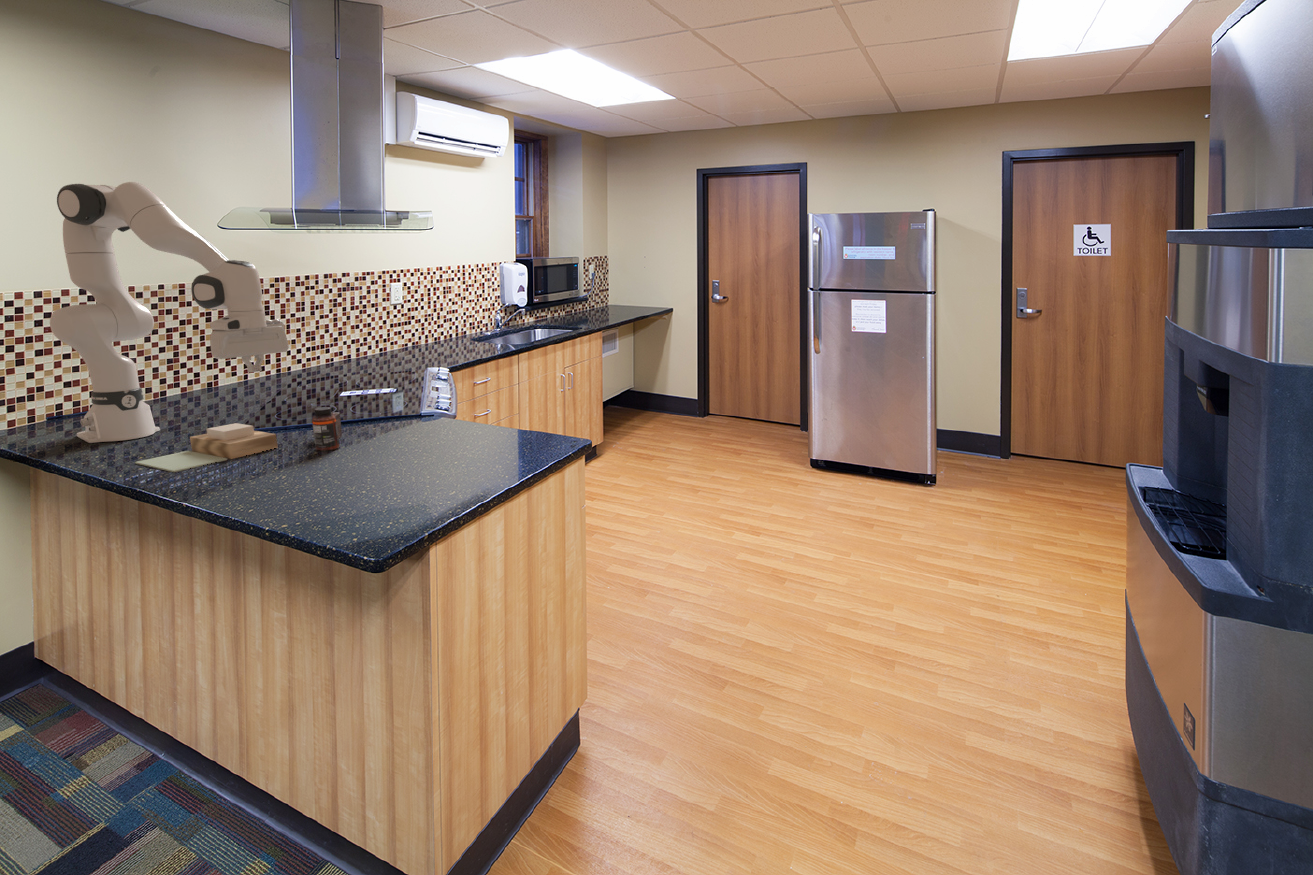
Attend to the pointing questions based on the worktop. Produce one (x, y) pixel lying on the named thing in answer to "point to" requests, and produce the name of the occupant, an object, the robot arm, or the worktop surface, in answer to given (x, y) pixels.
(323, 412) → the supplement bottle
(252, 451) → the serving board
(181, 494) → the worktop surface
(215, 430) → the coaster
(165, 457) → the mat
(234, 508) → the worktop surface
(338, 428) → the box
